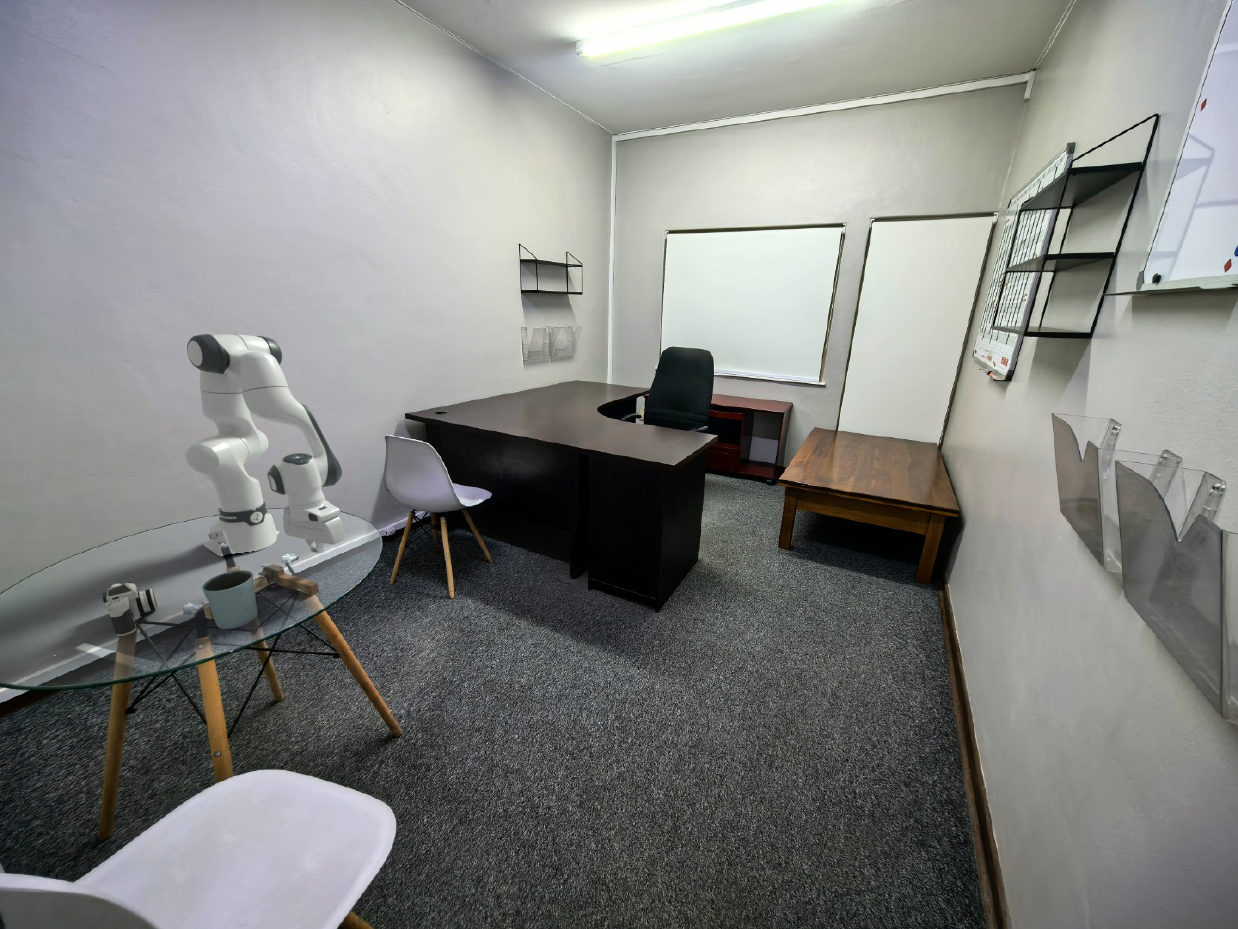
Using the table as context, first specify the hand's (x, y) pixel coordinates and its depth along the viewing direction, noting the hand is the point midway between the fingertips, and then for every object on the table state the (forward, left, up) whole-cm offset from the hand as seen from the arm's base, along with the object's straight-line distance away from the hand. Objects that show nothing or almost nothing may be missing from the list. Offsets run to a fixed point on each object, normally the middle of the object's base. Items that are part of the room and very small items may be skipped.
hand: (317, 552), depth 136 cm
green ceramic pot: (-4, -21, -11) cm, 24 cm away
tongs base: (-13, -6, -11) cm, 18 cm away
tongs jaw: (-13, -6, -11) cm, 18 cm away
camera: (-29, -31, -11) cm, 44 cm away
